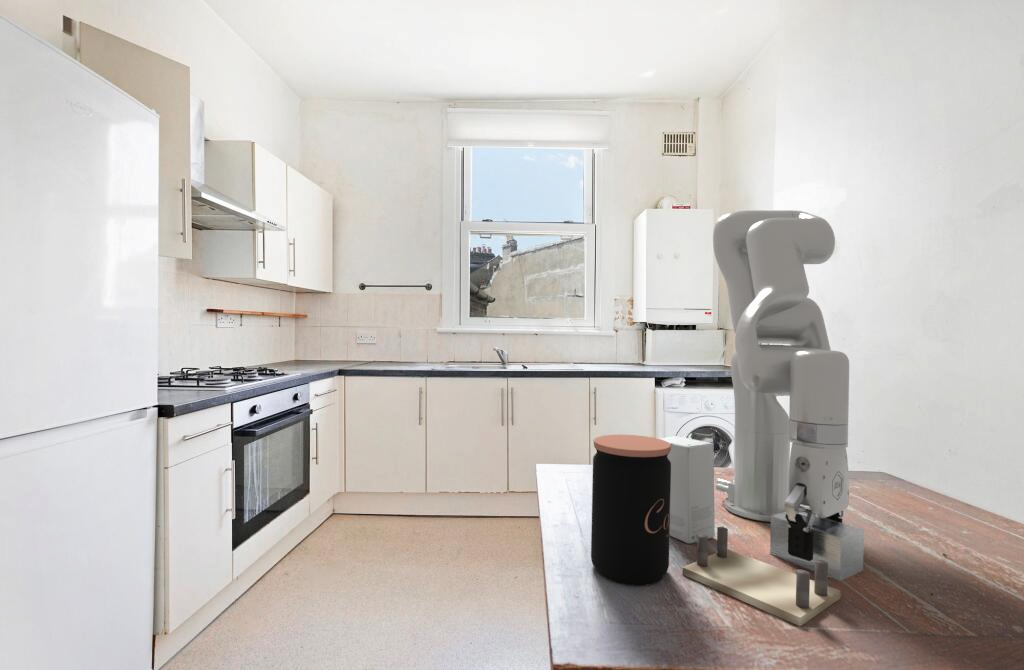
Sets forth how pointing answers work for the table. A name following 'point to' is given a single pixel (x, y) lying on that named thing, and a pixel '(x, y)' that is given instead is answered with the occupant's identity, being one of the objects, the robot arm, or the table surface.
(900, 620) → the table surface
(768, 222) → the robot arm
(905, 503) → the table surface
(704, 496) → the skincare box
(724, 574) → the cream peg board
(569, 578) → the table surface
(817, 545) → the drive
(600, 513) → the coffee jar
